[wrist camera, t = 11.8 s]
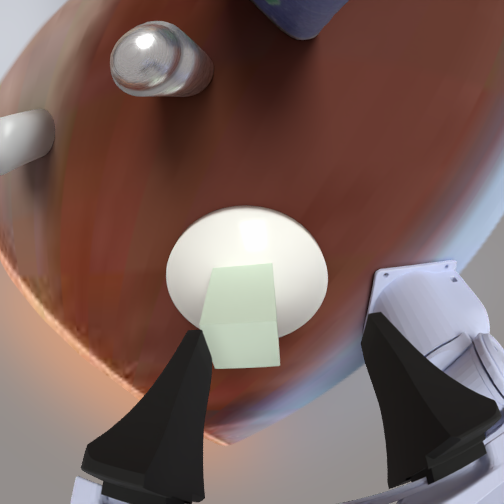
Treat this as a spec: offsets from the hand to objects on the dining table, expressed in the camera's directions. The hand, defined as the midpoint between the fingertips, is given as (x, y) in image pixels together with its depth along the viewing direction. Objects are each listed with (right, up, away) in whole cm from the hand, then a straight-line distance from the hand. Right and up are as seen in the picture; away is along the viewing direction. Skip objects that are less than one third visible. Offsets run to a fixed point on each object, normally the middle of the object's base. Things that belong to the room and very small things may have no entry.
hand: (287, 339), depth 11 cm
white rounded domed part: (-20, +14, +4) cm, 24 cm away
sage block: (-2, +1, +10) cm, 10 cm away
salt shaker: (-6, +15, +3) cm, 17 cm away
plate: (-2, +1, +11) cm, 12 cm away
